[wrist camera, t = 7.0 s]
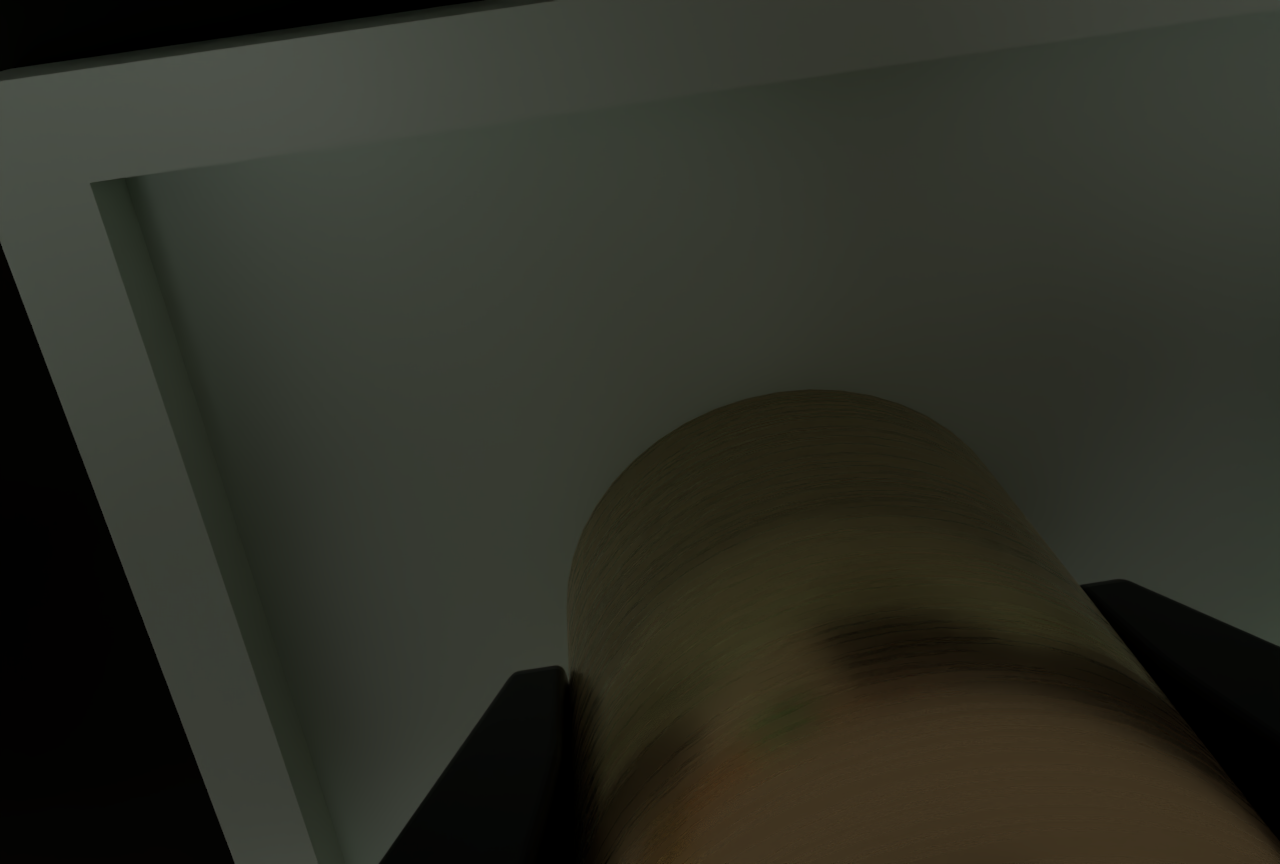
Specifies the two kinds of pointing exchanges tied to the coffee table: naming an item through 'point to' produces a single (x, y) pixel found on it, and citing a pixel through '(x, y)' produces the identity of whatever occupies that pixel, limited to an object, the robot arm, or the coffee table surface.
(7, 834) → the coffee table surface
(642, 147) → the pad
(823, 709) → the billet
